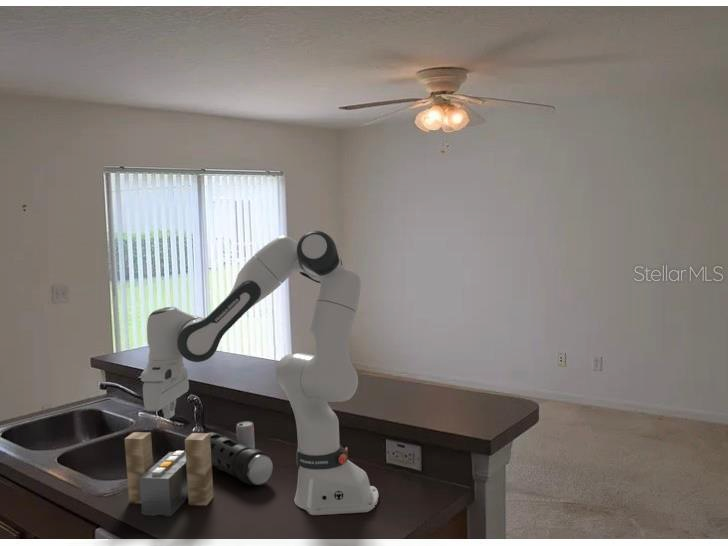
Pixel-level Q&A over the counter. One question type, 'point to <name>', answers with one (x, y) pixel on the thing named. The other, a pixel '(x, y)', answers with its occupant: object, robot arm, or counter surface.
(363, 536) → the counter surface
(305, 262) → the robot arm
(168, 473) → the button box
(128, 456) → the oak post
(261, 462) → the muzzle brake
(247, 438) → the energy drink
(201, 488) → the oak post
